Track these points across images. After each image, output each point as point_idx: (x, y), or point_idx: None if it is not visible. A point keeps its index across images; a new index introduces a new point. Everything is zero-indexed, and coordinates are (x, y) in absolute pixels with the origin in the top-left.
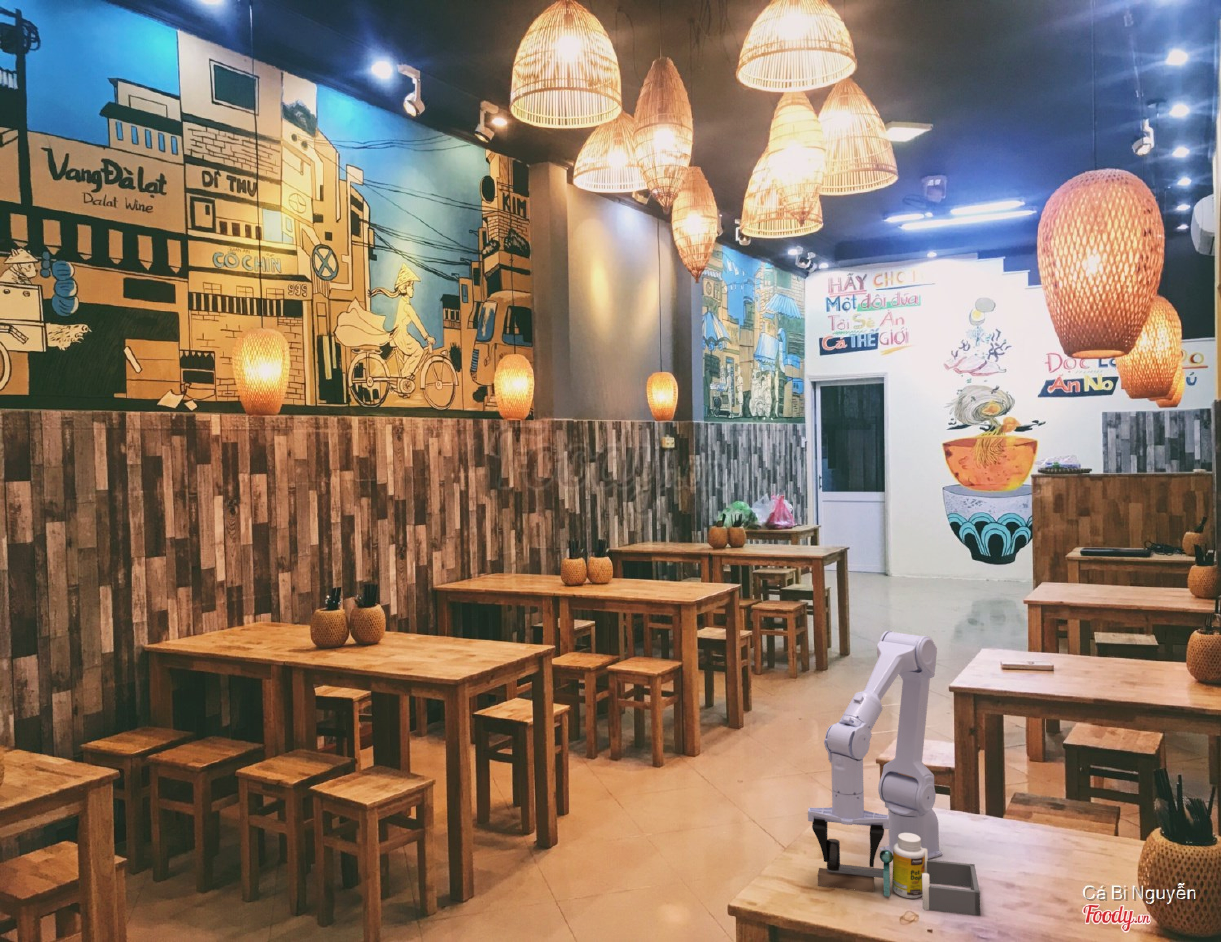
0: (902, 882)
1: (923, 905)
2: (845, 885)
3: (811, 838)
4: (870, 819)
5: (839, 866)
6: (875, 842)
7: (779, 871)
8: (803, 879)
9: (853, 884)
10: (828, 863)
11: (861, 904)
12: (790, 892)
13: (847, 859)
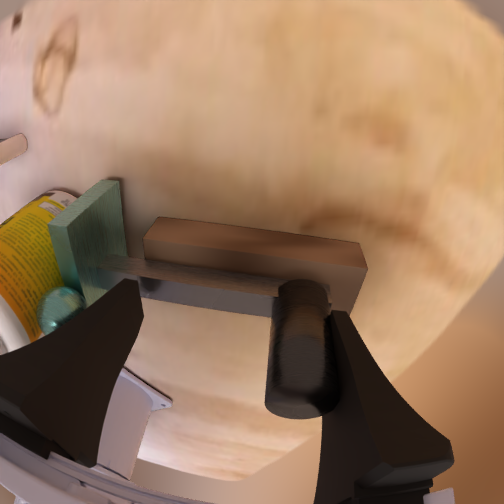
0: (43, 215)
1: (17, 140)
2: (257, 236)
3: (314, 431)
4: (8, 486)
5: (275, 300)
6: (38, 353)
7: (443, 316)
8: (394, 282)
9: (225, 235)
10: (326, 307)
11: (200, 114)
12: (459, 192)
13: (243, 381)
